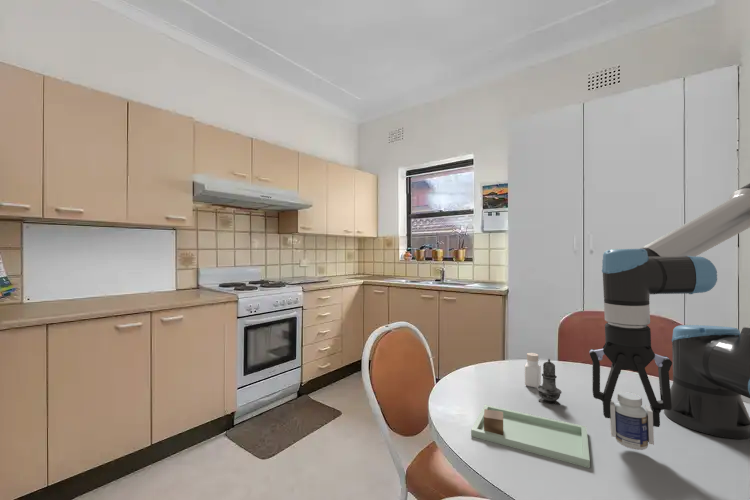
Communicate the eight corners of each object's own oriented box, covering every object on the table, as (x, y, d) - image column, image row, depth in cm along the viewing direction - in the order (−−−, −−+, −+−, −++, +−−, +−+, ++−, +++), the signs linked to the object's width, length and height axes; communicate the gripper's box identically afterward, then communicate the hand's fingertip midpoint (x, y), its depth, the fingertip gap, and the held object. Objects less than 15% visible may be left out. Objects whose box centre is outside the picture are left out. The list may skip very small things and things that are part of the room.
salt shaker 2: (565, 409, 88) (564, 362, 88) (540, 406, 89) (540, 361, 89) (557, 399, 93) (557, 356, 93) (534, 397, 95) (534, 354, 95)
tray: (586, 435, 75) (586, 426, 75) (589, 471, 63) (589, 460, 63) (484, 412, 86) (484, 404, 86) (471, 438, 74) (471, 429, 74)
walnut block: (503, 429, 77) (502, 411, 77) (503, 438, 73) (503, 420, 73) (484, 426, 78) (484, 409, 78) (483, 435, 74) (483, 417, 74)
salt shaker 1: (527, 381, 106) (527, 351, 106) (541, 384, 104) (541, 353, 104) (524, 385, 103) (524, 354, 103) (538, 389, 100) (538, 357, 100)
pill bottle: (650, 453, 65) (648, 403, 65) (616, 446, 68) (614, 397, 68) (646, 440, 70) (644, 393, 70) (614, 433, 73) (612, 388, 73)
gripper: (680, 323, 68) (685, 439, 67) (574, 317, 77) (578, 419, 77) (692, 331, 61) (697, 459, 61) (574, 324, 70) (579, 435, 70)
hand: (631, 436), depth 69 cm, fingers closed on pill bottle, 5 cm apart
